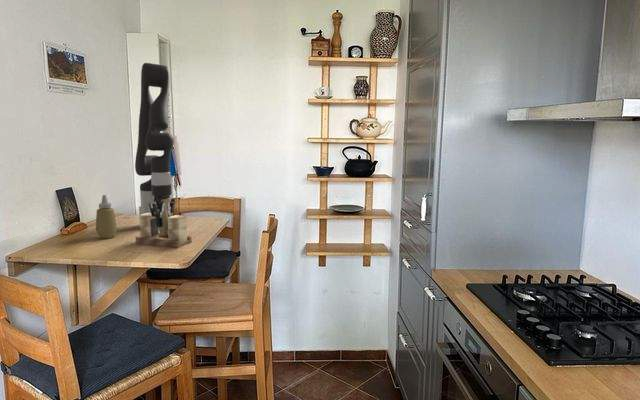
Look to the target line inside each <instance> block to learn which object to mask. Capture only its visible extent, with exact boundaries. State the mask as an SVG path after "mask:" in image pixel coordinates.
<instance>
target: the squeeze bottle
mask: <svg viewBox="0 0 640 400" xmlns="http://www.w3.org/2000/svg"><path fill="white" fill-rule="evenodd" d="M95 216H96V217H95V218H96V219H95V231H96V233H97V234H98V237H99V239H104V238H105V239H111V238H115V237H116V233H117V231H118V227H117V226H118V225H117V219H116V215H115V210H114V208H112V203H111V202H109V201H108V198H107V194H103V195H102V197H101V202H100V203H98V208H97V209H96V215H95Z"/></svg>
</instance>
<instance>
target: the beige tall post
mask: <svg viewBox="0 0 640 400" xmlns="http://www.w3.org/2000/svg"><path fill="white" fill-rule="evenodd" d="M171 199H172V198H171V197H170V198H166V199H162V200H161V204H162V201H164V203H165V205H164V212H163V213H162V223H163V226H162V227H158V229H159V233H160V236H166V235H168V211H167V204H168V203H169V202H171ZM158 210H161V209H158ZM158 213H160V212H158Z"/></svg>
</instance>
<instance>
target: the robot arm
mask: <svg viewBox="0 0 640 400" xmlns="http://www.w3.org/2000/svg"><path fill="white" fill-rule="evenodd" d="M170 86H171V71H170V68H169V67H168V66H167V65H165V64H164V65H163V64H157V63H151V62H144V63H143V64H142V66H141V71H140V107H139V117H138V133H137V135H138V136H137V139H138V140H137V147H136V153H135V160H134V169H135V172H136V174H137V175H138V176H142V177H145V176H149V177H150V179H149V180H147V181H145V182H142V183H140V185H139V193H140V205H139V207H138V210H139V211H138V213H139V214H138V216H139V215H141V214H145V213H151V214H152V217H156V225H157V227H158V228H159V227H162V226H163V223H162V213H163V212H164V205H165V203H164V201H162V204H161V200H162V199H166V198H171V196H172V195H173V191H172V190H173V189H172V186H173V185H172V174H171V156H172V151H173V147H174V144H175V143H174V142H175V139H174V136H173V134H172V133H169V132H164V131H166V130H167V129H168V128H169V115H168V113H169V112H168V111H169V109H168V108H169V107H168V106H169V99H170V98H169V97H170ZM150 87H151V88H152V87H153V88H161V91H160V92H159V95H158V96H157V97H156V98H155V99H153V97H152V94H151V91H150ZM148 150H149V151H151V152H155V151H156V152H157V151H158V152H159V151H161V152H163V151H164V153H163V154H162V155H156V154H155V155H154V154H153V155H152V154H151V155H150V154H149V155H147V154H148V153H147V152H148ZM175 202H176V199H175V198H171V202H169V203H168V204H167V211H168V217H171V215H172V214H173V213H174V208H175ZM158 209H161V210H158ZM158 212H160V213H158ZM154 213H155V214H154Z"/></svg>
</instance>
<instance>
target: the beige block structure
mask: <svg viewBox="0 0 640 400" xmlns="http://www.w3.org/2000/svg"><path fill="white" fill-rule="evenodd" d="M154 214H155V213H154ZM138 216H139V217H138V219H139V220H138V221H139V234H140V235H139V236H135V237H134V238H135V244H139V245H140V244H142V245H151V246H159V247H168V248H177V249H178V248H182V247H184V246H186V245H188V244H190V243H192V236H189V235H188V234H187V233H188V231H187V229H188V228H187V215H178V214H175V215H172V216H171V215H170V217H168V235H166V236H160V231H159V227H157V225H156V217H152V214H151V213H145V214H141V215H139V214H138Z"/></svg>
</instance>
